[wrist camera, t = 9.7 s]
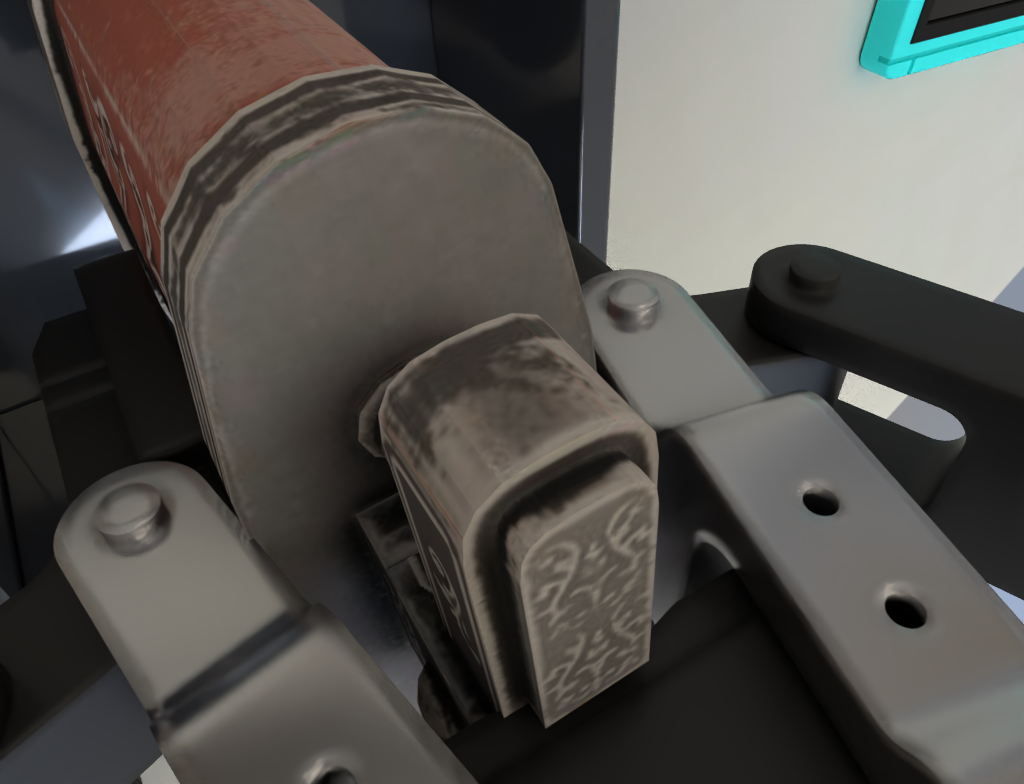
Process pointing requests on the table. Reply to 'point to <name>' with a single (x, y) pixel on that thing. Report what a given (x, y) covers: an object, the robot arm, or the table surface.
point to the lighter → (376, 343)
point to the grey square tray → (90, 236)
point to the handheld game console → (938, 33)
